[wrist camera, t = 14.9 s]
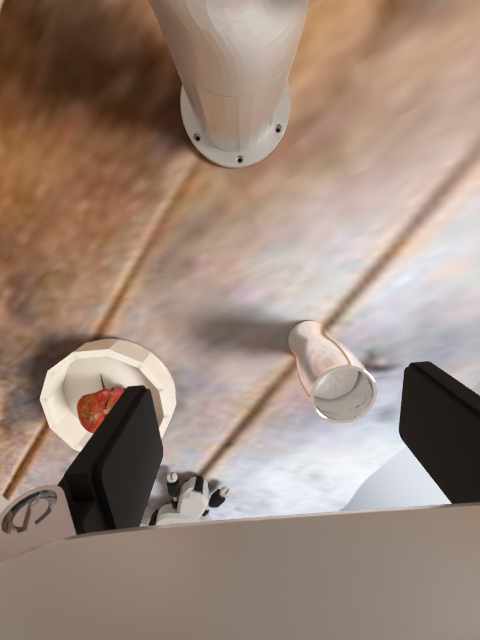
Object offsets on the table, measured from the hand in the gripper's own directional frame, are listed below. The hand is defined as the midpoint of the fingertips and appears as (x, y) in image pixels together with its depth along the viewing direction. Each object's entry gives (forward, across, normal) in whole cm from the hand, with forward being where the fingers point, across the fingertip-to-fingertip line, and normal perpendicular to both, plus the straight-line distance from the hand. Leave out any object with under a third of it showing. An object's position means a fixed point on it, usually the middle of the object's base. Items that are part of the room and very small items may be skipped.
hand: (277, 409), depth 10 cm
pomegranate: (+30, +22, +16) cm, 40 cm away
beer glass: (+31, -8, +10) cm, 33 cm away
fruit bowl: (+30, +22, +16) cm, 41 cm away
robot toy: (+31, +14, +40) cm, 52 cm away
